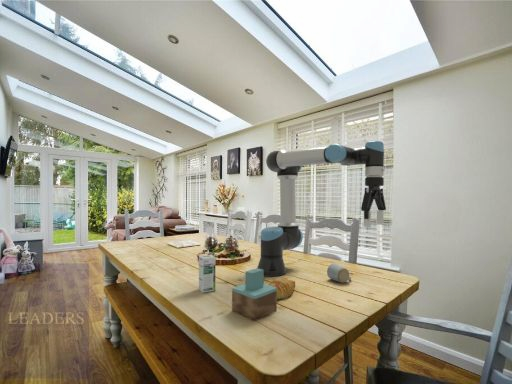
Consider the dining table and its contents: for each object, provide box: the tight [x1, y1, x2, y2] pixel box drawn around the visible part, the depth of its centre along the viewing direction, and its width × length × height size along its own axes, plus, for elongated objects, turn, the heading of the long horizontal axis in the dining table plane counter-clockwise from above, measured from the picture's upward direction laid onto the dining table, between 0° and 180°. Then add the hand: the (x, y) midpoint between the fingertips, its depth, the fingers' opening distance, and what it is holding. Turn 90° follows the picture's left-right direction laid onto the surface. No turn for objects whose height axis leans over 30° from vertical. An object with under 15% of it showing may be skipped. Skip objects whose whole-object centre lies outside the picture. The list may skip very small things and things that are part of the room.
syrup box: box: [198, 254, 216, 294], centre depth 117 cm, size 6×6×14 cm
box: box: [231, 290, 278, 322], centre depth 96 cm, size 11×11×7 cm
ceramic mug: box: [326, 262, 352, 284], centre depth 131 cm, size 11×8×8 cm
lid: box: [231, 268, 277, 299], centre depth 96 cm, size 11×11×9 cm
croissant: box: [269, 277, 296, 300], centre depth 112 cm, size 21×10×8 cm, turn 142°
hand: (373, 225), depth 120 cm, fingers open, 13 cm apart
